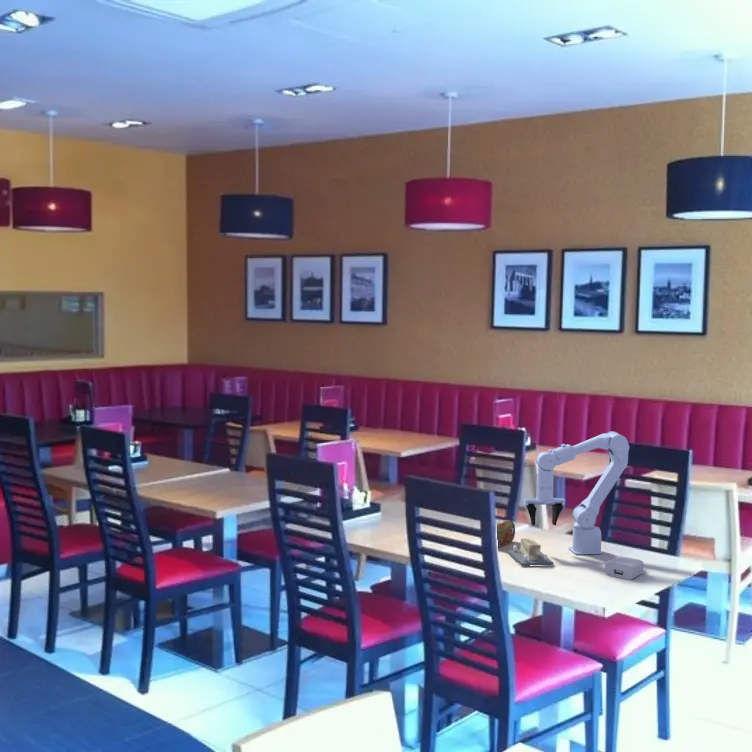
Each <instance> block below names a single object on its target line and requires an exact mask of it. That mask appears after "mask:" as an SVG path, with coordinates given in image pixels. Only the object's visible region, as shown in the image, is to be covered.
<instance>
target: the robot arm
mask: <svg viewBox="0 0 752 752" xmlns="http://www.w3.org/2000/svg"><path fill="white" fill-rule="evenodd" d="M596 449H602V450H607V451H608V452H609V457H610V460H611V461H610V462H609V464H608V466H607V468H606V469H605V470H604V472H603V473H602V474H601V476H600V478H599V479H598V481H596V484H595V485H594V487H593V488H592V490H591V491H590V492H589V495H588V496H587V497H586V498H585V499H584V500H582V501H581V502H580V503H579V504H578V505H577V506H575V508H574V509H572V518H573V520H574V523H573V526H572V547H568V550H569V551H571V552H572V553H573V554H575V555H602V553H603V552H602V531H601V529H600V527H599V526H595V525H596V523H597V516H598V515H599V513H600V507H601V506H602V504H603V502H604V501H605V499H606V498H607V496H608V495H609V494H610V492H611V490H612V489H613V488H614V486H615V484H616V483H617V481H618V480H619V479H620V476H621V475H622V474H623V472H624V470H625V469H626V468H627V466H628V463H629V450H630V445H629V442H628V439H627V437H625V436H624V435H622V434H620V433H618V432H616V431H611V430H610V431H608V432H606V433H601V434H599V435H597V436H594V437H591V438H589V439H587V440H584V441H582V442H579V443H577V444H574V445H570V444H565V443H562V444H561V445H560V446H559V447H556V448H554V449H551V448H550V449H548V450H547V451H548V452H547V451H542V452H539V454H538V455H537V457H536V459H535V463H536V465H537V473H536V497H531V498H530V497H529V498H523V505H524V506H525V507H526V509H527V512H528V515H529V517H530V524H531V526H533V527H534V526H536V514H537V507H536V505H538V506H539V505H540V506H542V505H544V506H545V505H551V511H552V518H551V524H552V525H553V526H557V522H558V518H559V516H560V515H561V512H562V511H563V509H564V506H565V505H566V499H565V498H564V497H562V498H561V497H554V478H555V477H554V469H555V468H556V466H557V467H558V466H560V465H563V464H566V463H568V462H570V461H573V460H575V458H576V456H578V455H580V454H584V453H587V452H590V451H592V450H596Z"/></svg>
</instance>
